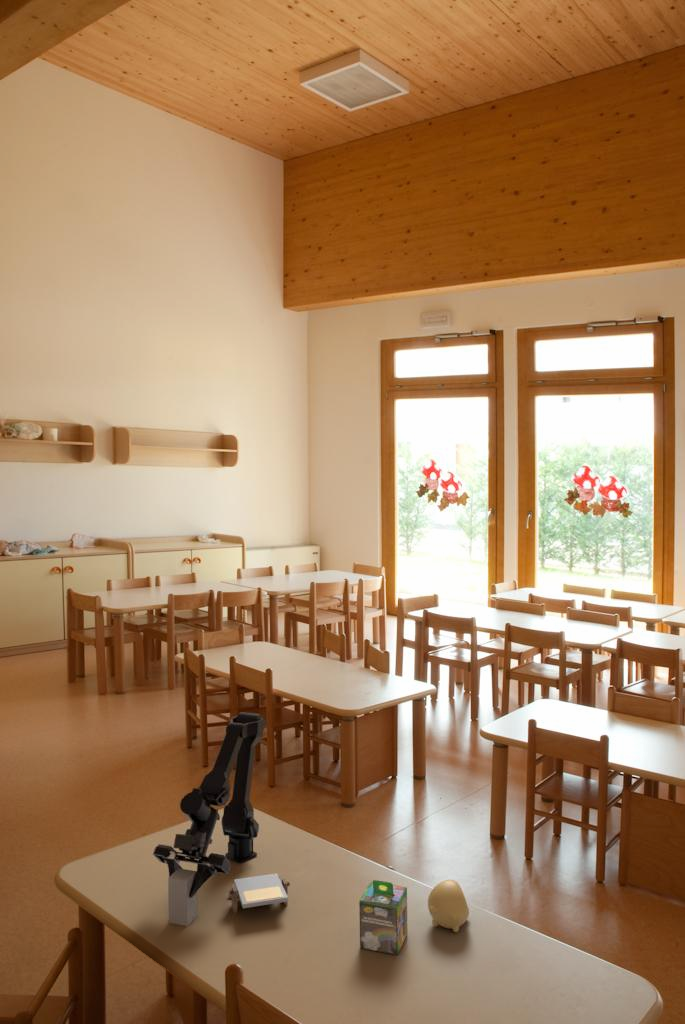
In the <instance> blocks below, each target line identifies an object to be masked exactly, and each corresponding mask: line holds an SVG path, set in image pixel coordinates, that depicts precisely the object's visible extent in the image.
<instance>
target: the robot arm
mask: <svg viewBox="0 0 685 1024" xmlns="http://www.w3.org/2000/svg"><path fill="white" fill-rule="evenodd" d="M266 724H267V723H266V719H265V718H264V717H263V715H262V714H260V713H252V712H245V711H244V712H243V711H242V712H239V713H238V714H237V715H235V716H234V717H231V718H230V722H229V723H227V725H226V728H225V736H224V738H223V740H222V744H221V746H220V749H219V752H218V754H217V756H216V759H215V761H214V765H213V767H212V769H211V770H210V771H209V772H207V774H205V775H204V776H203V778H202V781H201V783H200V784H199V786H198V787H193V788H192V790H191V792H189V793H187V794H186V795H184V796H183V797H182V799H181V800H180V803H179V808H180V811H181V812H182V813H183V814H184V815H185V817H186V818H187V819H188V820H189V821H190V822H191V825H190V827H189V828H187V829H186V830H185V833H175V838H174V842H173V846H171V845H166V844H160V843H159V844H158V845H157V846H155V847H154V850H153V853H152V855H153V856H154V857H155V858H156V859H157V860H158V861H159V862H160V863H162V864H166V865H167V868H168V878H169V877H170V876H171V875H172V874H173V873H174V872H175V871H176V870H177V869H178V868H181V869H183V867H182V866H181V865H180V863H181V862H185V863H190V864H194V865H197V866H196V867H197V868H196V871H197V873H196V876H195V879H194V881H193V884H192V887H191V890H190V894H189V897H190V898H192V897H193V896H194V894H195V893H196V892H197V893H198V891H199V890H200V888H202V886H203V885H204V884H205V883H206V882H207V881H208V880H209V879H210V878H211V877H212V876H214V877H215V876H216V872H217V873H218V874H225V875H229V874H230V869H231V862H230V860H233V861H234V862H237V863H239V864H241V863H243V862H245V861H248V860H250V859H252V858H254V857H257V856H258V853H257V852H255V851H254V839H255V838H257V837H258V834H259V830H260V824H259V823H258V822H257V820H256V819H255V817H254V816H255V815H254V813H255V812H254V811H255V809H254V808H253V805H252V802H251V800H250V797H251V788H252V779H253V772H254V763H255V762H254V761H255V753H256V746H257V745H258V743H259V742H260V741H261V739H262V738H263V734H264V731H265V729H266ZM234 765H235V768H234ZM233 768H234V769H235V771H234V777H233V778H234V780H233V787H232V785H231V783H230V776H231V774H232V771H233ZM231 788H233V789H232V795H231ZM230 797H231V800H230V801H229V799H230ZM228 801H229V802H228ZM226 803H227V805H226ZM214 806H215V807H216V806H217V807H223V806H224V807H223V815H222V817H220V814H219V810H218V808H214ZM220 819H221V827H222V828H221V829H222V832H223V835H224V836H225V837H226V836H228V842H227V852H226V853H224V854H225V855H224V854H219V853H214V852H211V853H209V855H208V856H207V852H208V849H209V845H212V843H213V839H212V835H213V833H214V829H215V827H216V824H217V821H220ZM176 849H178V850H179V851H181V852H179V851H177V850H176ZM227 858H228V859H227ZM229 859H230V860H229Z"/></svg>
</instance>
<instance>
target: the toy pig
mask: <svg viewBox="0 0 685 1024" xmlns="http://www.w3.org/2000/svg"><path fill="white" fill-rule="evenodd" d="M427 908H428V912H429V915H430V916H431V918H432V922H431V925H432V926H433V927H438V926H441V927H442V928H445V929H452V931H453V932H454V933H457V932H459V930H460V927H461V926H463V924H464V923H465V922H466V921H467V920H468V918H469V916H470V909H469V906H468V903H467V899H466V897H465V894H464V892H463V889H462V887H461V886H460V884H459V882H458V881H456V880H455V879H446V880H443V881H440V882H439V883H438V884H436V885H435V886H434V887H433V888H432V889H431V891H430V893H429V895H428V898H427Z"/></svg>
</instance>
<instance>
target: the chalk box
mask: <svg viewBox="0 0 685 1024" xmlns="http://www.w3.org/2000/svg"><path fill="white" fill-rule="evenodd" d="M358 904H359V905H358V906H359V948H360V949H365V950H369V951H370V950H371V951H374V952H379V953H384V954H388V953H389V955H392V954H394V956H398V954H399V952H400V951H401V949H402V947H403V944H404V942H405V940H406V938H407V935H408V888H407V886H402V885H401V886H400V885H396V884H393V883H392V882H389V881H383V880H377V879H373V880H372V882H370V883H369V885H368V886H367V887H366V889H365V891H364V892H363V894H362V896H361V898H360V900H359V903H358Z"/></svg>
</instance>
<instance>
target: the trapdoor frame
mask: <svg viewBox="0 0 685 1024" xmlns="http://www.w3.org/2000/svg"><path fill="white" fill-rule="evenodd" d="M281 883H282V885H283V887H284V890H285V892H286V894H287V896H288V891H289V890H288V887H290V886H291V884H290V881H287V880H286V877H281ZM238 898H239V896H238V893H237V889H236V886H235V884H232V885H231V890H229V891H228V899H231V908H232V912H233V914H237V913H238ZM288 901H289V900H288ZM288 901H287V902H282V903H283V905H284V906H287V904H288V905H289V903H288Z"/></svg>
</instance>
